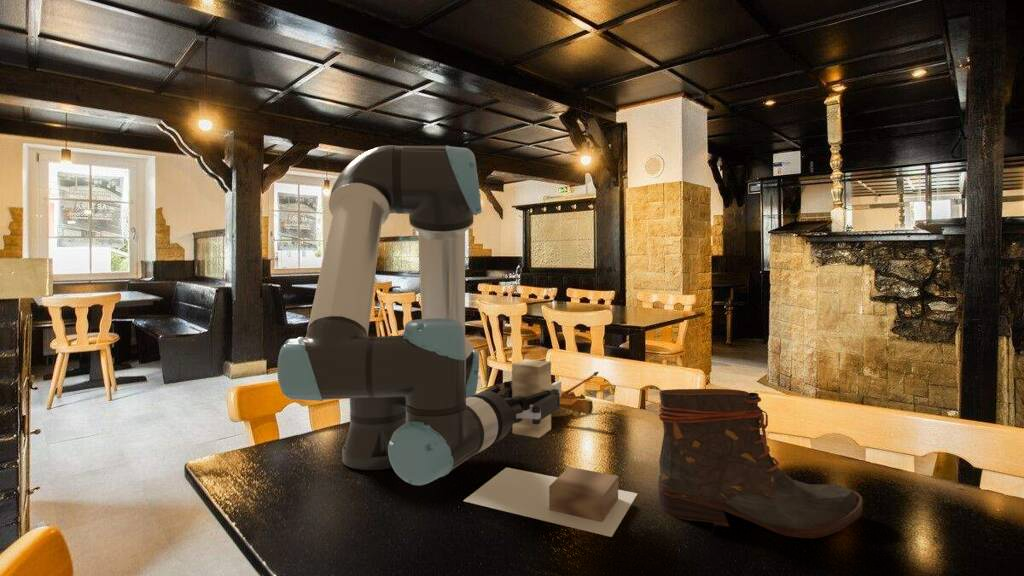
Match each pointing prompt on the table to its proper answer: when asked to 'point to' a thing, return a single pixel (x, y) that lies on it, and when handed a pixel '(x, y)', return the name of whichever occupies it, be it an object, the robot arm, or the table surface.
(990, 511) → the table surface
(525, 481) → the white flat panel
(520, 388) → the column
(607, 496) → the plinth
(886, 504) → the table surface
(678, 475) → the ankle boot
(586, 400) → the toy
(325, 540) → the table surface
